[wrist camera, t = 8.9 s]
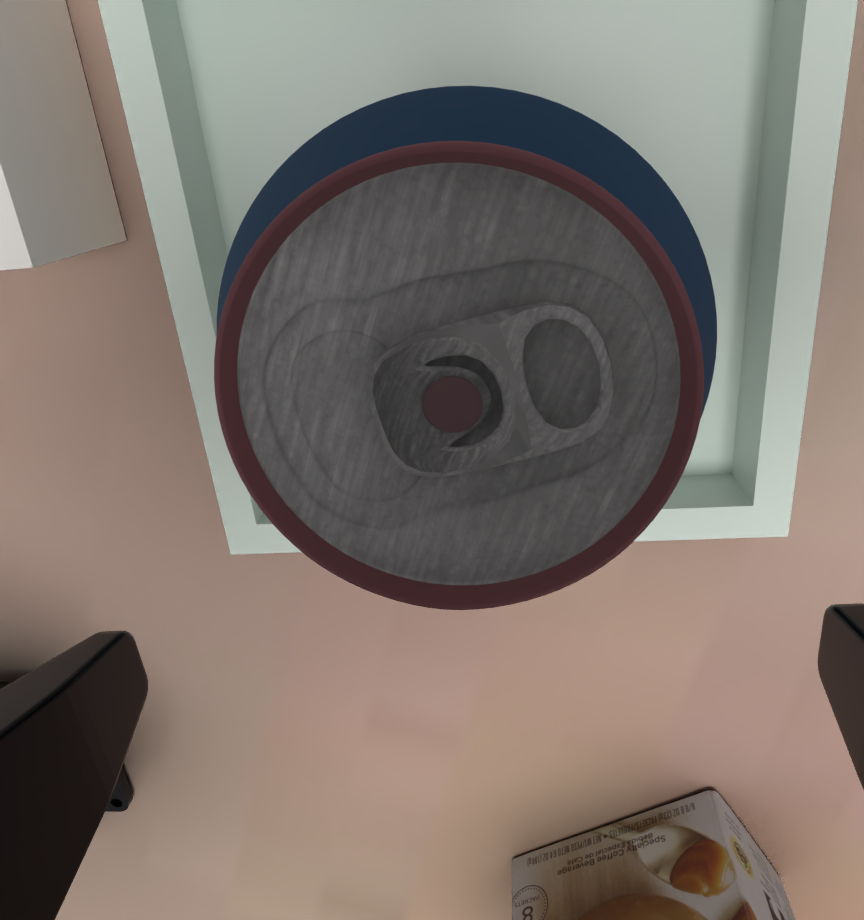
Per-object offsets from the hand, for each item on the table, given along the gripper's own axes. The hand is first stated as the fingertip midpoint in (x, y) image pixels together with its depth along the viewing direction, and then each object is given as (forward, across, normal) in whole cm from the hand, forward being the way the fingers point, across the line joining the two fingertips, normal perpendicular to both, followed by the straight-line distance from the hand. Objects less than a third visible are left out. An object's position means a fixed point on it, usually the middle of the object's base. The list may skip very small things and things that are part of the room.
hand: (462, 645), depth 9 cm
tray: (+13, 0, -3) cm, 13 cm away
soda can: (+12, 0, -3) cm, 13 cm away
